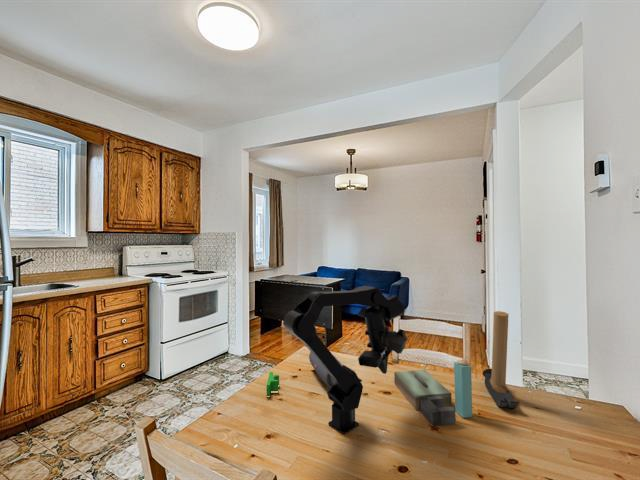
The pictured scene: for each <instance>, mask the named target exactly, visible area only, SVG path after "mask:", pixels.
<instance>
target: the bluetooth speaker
mask: <svg viewBox="0 0 640 480" xmlns="http://www.w3.org/2000/svg"><path fill="white" fill-rule="evenodd" d="M332 355H333V356H334V357H335V358H336V360H337V361H338V362H339V364H340V365H341V366H343V365H344V364H342V363H341V362H340V361H339V360H338V358H337V357H336V356H335V355H334V354H333V353H332ZM308 359H309V362H310V365H311V366H312V368H313V369H314V371H315V373H316V374H317V375H318V377H319V378H320V379H321V380H322V381H323V383H324V384H325V385H326V386H327V387H329V389H330V388H331V387H332V385H333V383H332V381H331V376H330V374H329V373H328V372H327V371H326V370H325V368H324V367H323V366H322V365H321V363H320V362H319V361H318V360H317V359H316V357H315V356H314V355H313V354H312V352H311V351H310V353H309V354H308Z"/></svg>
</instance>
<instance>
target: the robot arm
mask: <svg viewBox="0 0 640 480" xmlns="http://www.w3.org/2000/svg"><path fill="white" fill-rule="evenodd" d="M346 305H348V306H349V305H360V306H361V305H362V306H366V307H361V308H360V310H359V311H358V312H357V315H358V317H359V316H360V317H363V318H364V319H365V326H366V329H365V331H364V335H366V336H367V337H368V343H367V348H370V349H371V350H364V351H363V352H362V353H361V354H360V356H359V357H358V358H357V360H358V364H359V366H361V367H362V366H363V367H368V368H378V369H379V371H380V372H381V373H382V374H384V375H386V374H387V372H388V363H389V355H390V354H391V353H392V351H393V352H394V353H396V354H399V355H400V354H402V353H403V351H404V350H405V348H406V344H407V343H406V342H407V341H408V337H407V334H406V331H405V330H404V329H401V328H400V329H399V330H398V331H395V330H390V328H389V326H386V323H385V321H387V322H389V321H391V320H394V319H396V318H398V317H401V316H403V314H404V313H405V306H404V305H403V302H401V301H400V299H399V298H398V296H397V295H394V294H391V295H390V296H388V297H385V295H384V294H383V292H382V290H381V289H380V288H378V287H373V286H368V285H362V286H358V287H354V288H353V289H350V290H337V291H336V290H334V291H311V293H309V294H308V295H307V296H306V298H304V299H303V300H302V301H300V302H299V303H297V304H296V305H295V306H294V307H293V308H292V309H291V310H289V311H288V312H287V313H286V314H285V315H284V317H283V322H282V325H283V327H284V329H285V330H286V331H288V332H289V333H291V335H292V336H294V337H295V338H297V339H298V340H299V341H301V342H302V343H303V344H304V345H305V347H306V348H307V349H308V350H309V351H310V352H312V354H313V355H314V356H315V357H316V359H317V360H318V361H319V362H320V363H321V365H322V366H323V367H324V368H325V370H326V371H327V372H328V373H329V374H330V376H331V381H332V383H333V385H332V387H331V388H330V387H329V389H328V391H327V397H328V399H329V401H331V402H332V404H331V420H330V421H329V422H328V424H327V425H329V427H331V428H333V429H334V430H336V431H338V432H339V433H340V434H343V435H345V434H347V433H348V432H351V431H352V430H354V429H355V428H357V427H358V426H359V424H360V423H359V422H358V421H356V409H358V408H359V405H360V402H361V397H362V394H363V389H364V386H363V383H362V382H363V380H362V379H361V378H360V377H359V376H358V374H357V373H356V372H355V370H353V369H351V368H350V367H348V366H346V365H345V364H342V365H343V366H341V365H340V364H339V362H340V361H339V360H338V361H339V362H338V361H337V360H336V358H337V357H336V356H335V355H334V354H333V353H332V352H331V350H329V348H328V347H327V346H326V344H325V343H324V342H323V340H322V339H321V338H320V337H319V335H318V332H317V328H316V326H315V323H316V322H317V321H318V319H319V318H320V315H321V313H322V310H323V309H324V307H335V306H346ZM332 354H333V355H334V356H335V357H336V358H335V357H334V356H333V355H332Z"/></svg>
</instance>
